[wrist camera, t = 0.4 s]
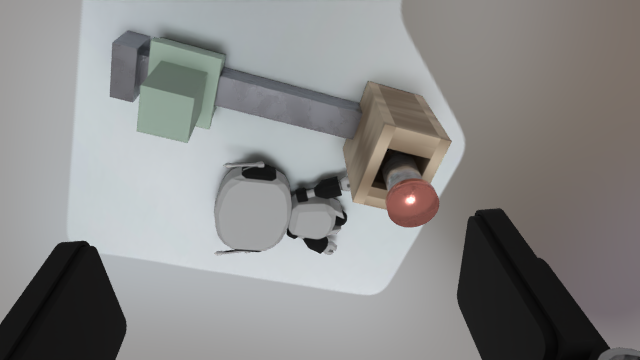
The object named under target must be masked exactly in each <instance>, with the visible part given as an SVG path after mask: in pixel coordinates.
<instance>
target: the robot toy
mask: <svg viewBox="0 0 640 360" xmlns="http://www.w3.org/2000/svg"><path fill="white" fill-rule="evenodd" d="M223 166H225V167H227V168H230V167H238V168H235V169H232V170H231V171H230V172H229V173H228V174H227V175H226V176H225V178H224V179H223V181H222V183H221V185H220V188H219V191H218V195H217V198H216V201H215V209H214V216H215V225H216V230H217V233H218V236H219V238H220V239H221V240H222V242H223V243H224V244H225V245H227V246H229V247H231V248H232V249H235V250H230V251H217V252H216V253H214V254H216V255H222V254H229V253H238V252H245V253H250V252H261V251H265V250H267V249H270V248H272V247H274V246H275V245H276V244H277V243H279V242H280V240H281V239H282V237H283V236H284V234H285V232H286V230H287V235H288V236H289V237H291V238H293V239H296V238H297V237H299V238H301V239H303V240H304V242H305V243H306V245H307V246H308V248H309V249H312V250H314V251H316V252H318V253H320V254H321V253H322V252H324V253H325V254H328V255H331V254H333V250H334V251H335V250H336V249H337V245H336V244H334V243H333V242H328V239H327V237H326V236H327V235H332V234H337V233H338V232H339V231H340V230H341V226H342V225H344V224H345V223H346V221H347V215H346V213H345V212H344V211H342V209H341V206H340V202H339V201H337V200H335V199H333V198H334V197H337V196H341V195H342V193H341V190H343V191H350V190H351V189H350V184H349V179H348V176H346V177H344V178H342V179H341V180H340V181H339V182H338V178H337V177H333V178H330V179H326V180H322V181H321V182H320V183H319V184H318V185H317V186H316V187H315V188H314V189H311V190H307V191H306V189H305V188H301V189H297V190H295V193H296V194H295V195H294V196H292V197H291V193H290V186H289V183H288V180H287V179H286V177H285V176H284V174H282V173H280V172H278V171H276V168H274V167H271V166H269V165H267V164H264V163H263V162H257V163H240V164H231V163H226V164H225V165H223ZM287 228H288V229H287Z"/></svg>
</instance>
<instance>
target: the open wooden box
mask: <svg viewBox="0 0 640 360" xmlns="http://www.w3.org/2000/svg"><path fill="white" fill-rule="evenodd" d="M360 106H361V110H362V113H363V114H362V117H361V120H360V122H359V125H358V128H357V130H356V133H355V135H354V138H353V140H351V139H346V142H345V145H344V147H343V152H344V157H345V163H346V168H347V173H348V179H349V184H350V189H351V195H352V200H353V202H354V203H359V204H364V205H368V206H373V207H377V208H382V209H386V210H387V208H386V203H385V200H386V196H387V194H388V190H387V187H386V184H385V181H384V177H383V174H382V171H381V167H382V163H383V161H384V160H385V159H386V158H387V157H388V156H389V155H391V154H394V153H398V152H403V153H407V154H409V155H410V156H411V157H412V158H413V159H414V161H415V164H416V166H417V168H418V170H419V172H420V175H421V177H422V179H423V180H425V181H427V182H429V183H431V181H432V179H433V177H434V175H435V173H436V171H437V169H438V167H439V166H440V164H441V162H442V160H443V158H444V156H445V154H446V152H447V150H448V148H449V146H450V144H451V142H452V141H451V140H450V138H449V137H448V135H447V134H446V132H445V130H444V129H443V127H442V126H441V124H440V123H439V121H438V120H437V118H436V116H435V115H434V113H433V112H432V110H431V109H430V107H429V106H428V104H427V102H426V101H425V99H424V98H423V96H419V95H416V94H412V93H409V92H405V91H402V90H398V89H394V88H391V87H387V86H384V85H380V84H377V83H373V82H369V81H368V82H367V85H366V88H365V91H364V93H363V96H362V99H361V101H360ZM387 148H389V149H390V150H389V152H387V151H386V150H387Z"/></svg>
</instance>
